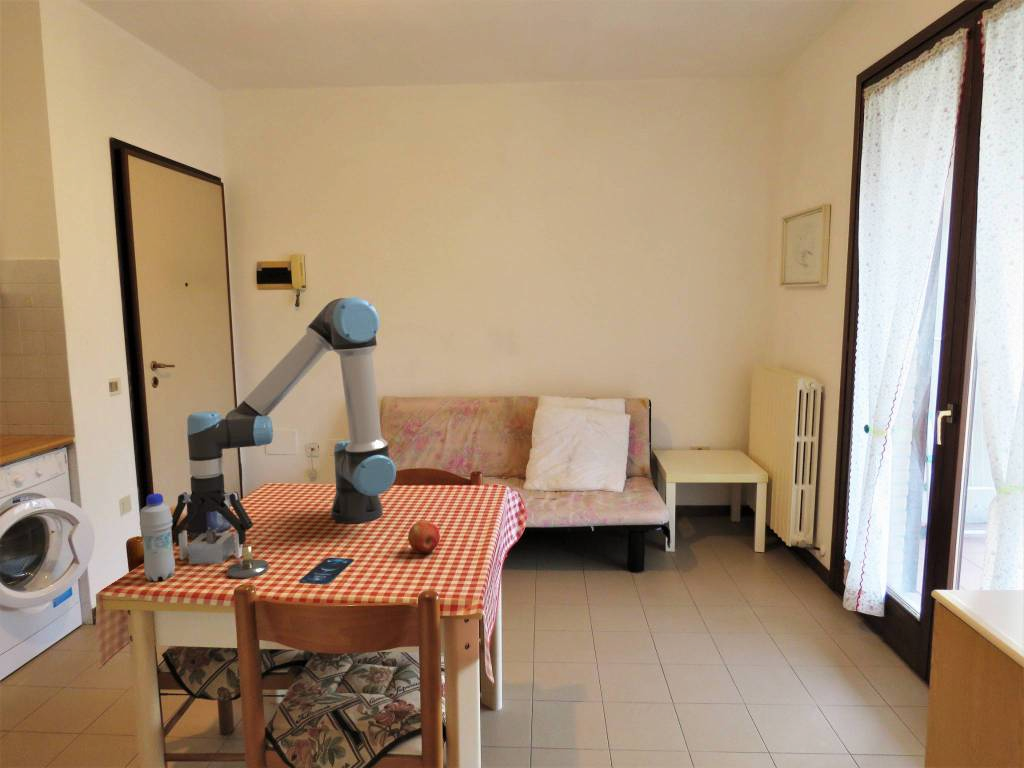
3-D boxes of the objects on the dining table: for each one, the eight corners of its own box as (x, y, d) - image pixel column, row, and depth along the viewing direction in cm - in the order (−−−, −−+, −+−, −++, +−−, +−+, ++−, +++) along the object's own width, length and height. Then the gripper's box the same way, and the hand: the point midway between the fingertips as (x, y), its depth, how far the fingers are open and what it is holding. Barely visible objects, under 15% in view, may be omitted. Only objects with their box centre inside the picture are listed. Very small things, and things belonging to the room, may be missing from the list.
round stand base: (273, 562, 160) (272, 539, 159) (261, 578, 151) (259, 553, 150) (236, 563, 160) (234, 540, 159) (221, 579, 151) (219, 554, 150)
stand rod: (222, 554, 166) (220, 528, 165) (216, 560, 162) (215, 532, 161) (208, 555, 165) (206, 528, 165) (203, 560, 162) (201, 533, 161)
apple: (439, 545, 171) (438, 515, 170) (441, 557, 162) (440, 526, 162) (408, 547, 169) (407, 517, 168) (408, 559, 161) (408, 528, 160)
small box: (208, 541, 176) (205, 503, 174) (187, 539, 177) (184, 502, 176) (232, 528, 186) (230, 492, 185) (212, 526, 187) (209, 491, 186)
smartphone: (355, 558, 162) (328, 583, 147) (356, 561, 162) (328, 586, 147) (327, 557, 163) (297, 581, 148) (327, 559, 163) (297, 584, 149)
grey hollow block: (235, 551, 168) (233, 532, 167) (222, 563, 160) (221, 543, 159) (203, 552, 168) (202, 533, 167) (189, 564, 160) (188, 544, 159)
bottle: (152, 572, 155) (145, 490, 153) (181, 570, 156) (175, 489, 153) (138, 584, 149) (131, 498, 146) (169, 582, 149) (162, 497, 147)
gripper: (263, 470, 166) (267, 550, 168) (162, 471, 165) (168, 552, 167) (252, 477, 158) (257, 561, 161) (147, 479, 157) (153, 563, 160)
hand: (211, 557), depth 164 cm, fingers open, 13 cm apart
